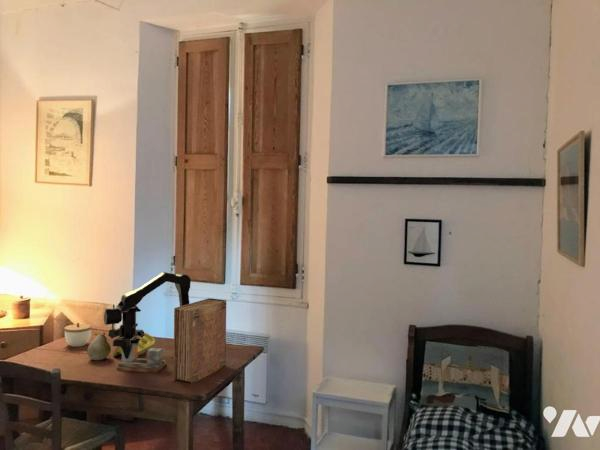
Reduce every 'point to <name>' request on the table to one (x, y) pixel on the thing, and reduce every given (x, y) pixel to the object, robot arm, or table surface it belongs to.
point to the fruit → (99, 348)
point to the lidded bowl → (77, 334)
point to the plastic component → (139, 345)
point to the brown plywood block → (199, 339)
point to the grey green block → (131, 354)
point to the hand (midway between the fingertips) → (129, 357)
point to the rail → (145, 362)
